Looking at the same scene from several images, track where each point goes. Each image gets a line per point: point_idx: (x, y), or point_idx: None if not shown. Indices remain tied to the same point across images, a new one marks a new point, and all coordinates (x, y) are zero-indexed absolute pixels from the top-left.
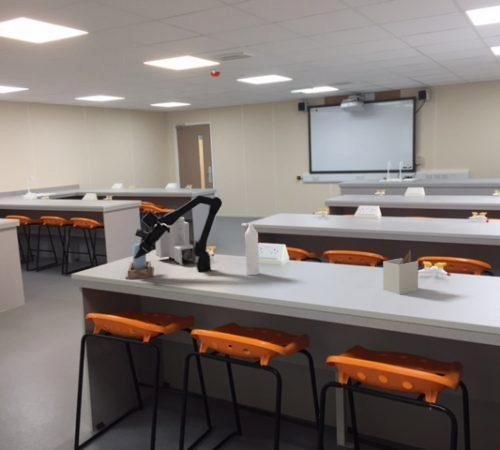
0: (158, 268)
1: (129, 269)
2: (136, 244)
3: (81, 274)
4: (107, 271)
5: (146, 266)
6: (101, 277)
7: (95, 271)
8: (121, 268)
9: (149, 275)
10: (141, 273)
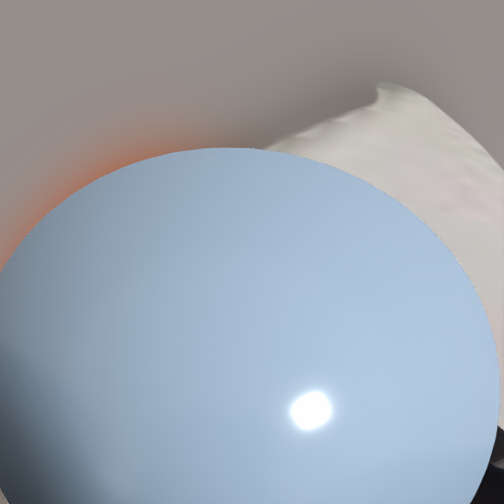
0: None
1: None
2: (285, 353)
3: (407, 100)
4: (445, 190)
5: None
6: (315, 139)
7: (451, 149)
8: (490, 267)
9: None
10: None
